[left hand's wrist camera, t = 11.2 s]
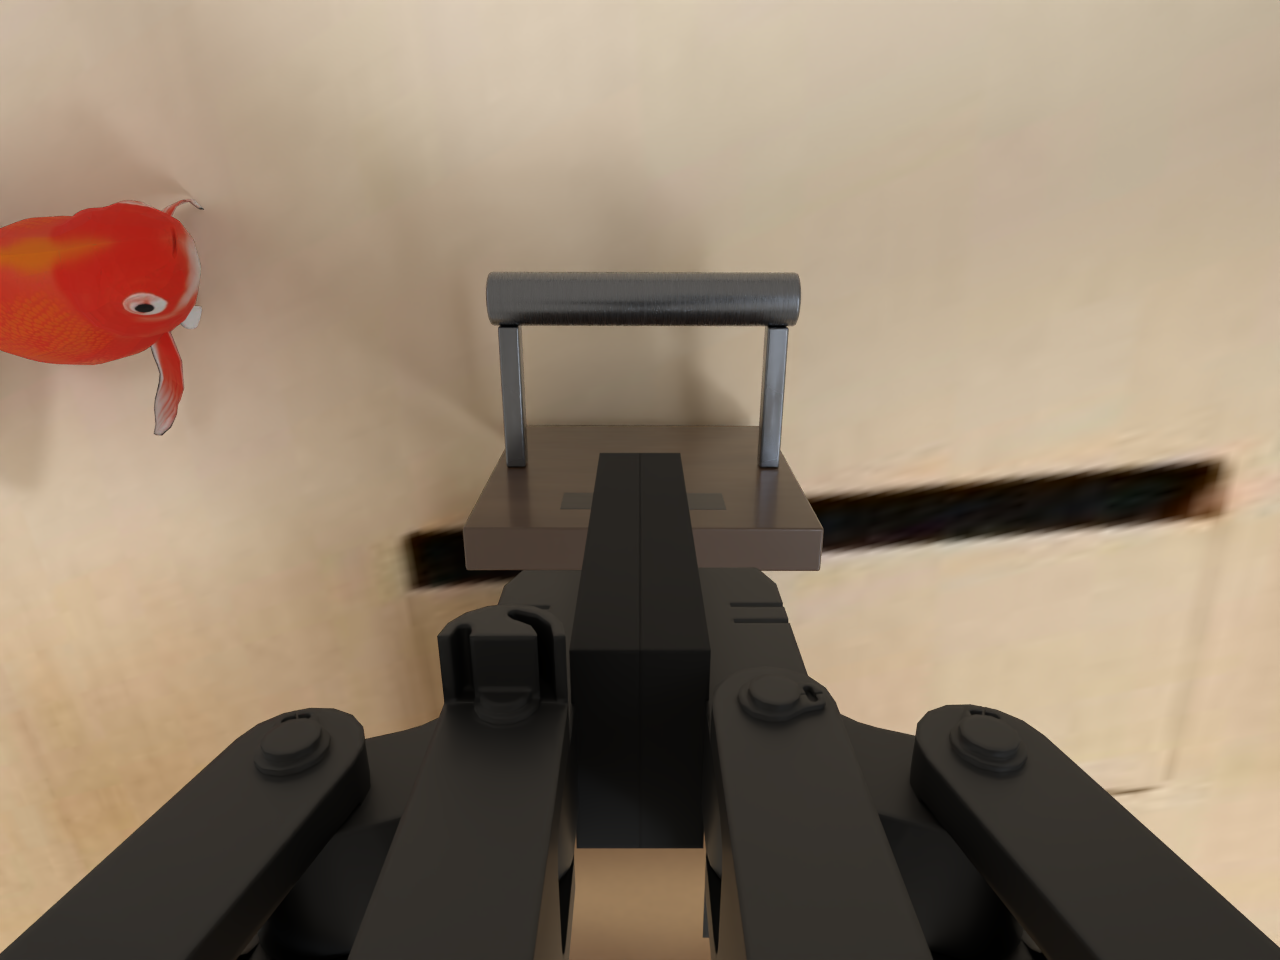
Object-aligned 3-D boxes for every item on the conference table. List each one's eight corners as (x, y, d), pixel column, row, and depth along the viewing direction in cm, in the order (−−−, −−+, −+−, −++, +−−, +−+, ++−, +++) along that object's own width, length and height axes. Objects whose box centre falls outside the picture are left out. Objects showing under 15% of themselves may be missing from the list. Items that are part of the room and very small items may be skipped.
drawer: (507, 259, 26) (441, 292, 17) (778, 260, 26) (846, 293, 17) (539, 832, 34) (506, 1042, 26) (741, 832, 34) (775, 1043, 26)
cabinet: (517, 619, 32) (456, 828, 21) (765, 619, 32) (827, 829, 21) (538, 969, 39) (500, 1256, 28) (741, 970, 39) (779, 1256, 28)
